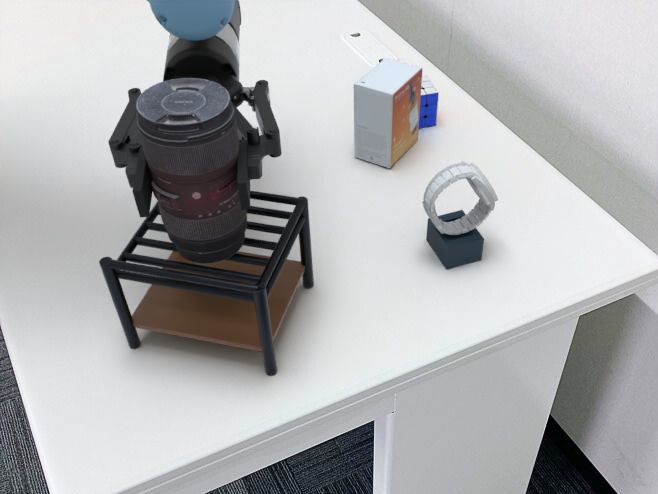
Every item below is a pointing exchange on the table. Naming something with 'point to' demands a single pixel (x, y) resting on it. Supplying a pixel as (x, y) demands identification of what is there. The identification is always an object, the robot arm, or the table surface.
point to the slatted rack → (217, 284)
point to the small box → (387, 112)
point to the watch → (458, 216)
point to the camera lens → (194, 166)
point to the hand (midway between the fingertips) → (192, 200)
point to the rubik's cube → (428, 103)
